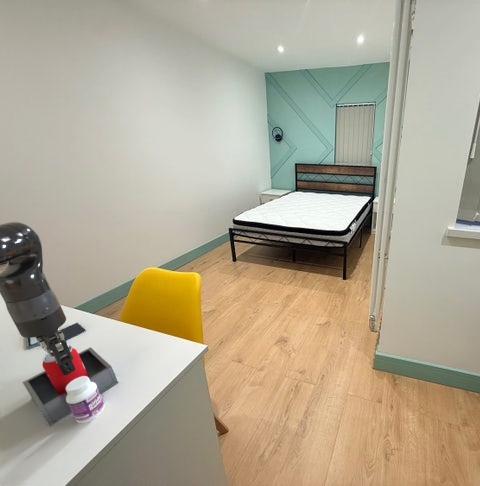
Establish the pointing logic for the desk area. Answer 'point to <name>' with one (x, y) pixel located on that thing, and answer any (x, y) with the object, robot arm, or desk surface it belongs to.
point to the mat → (72, 331)
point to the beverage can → (56, 373)
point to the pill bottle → (84, 399)
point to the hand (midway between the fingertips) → (64, 366)
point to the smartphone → (32, 342)
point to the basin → (56, 405)
